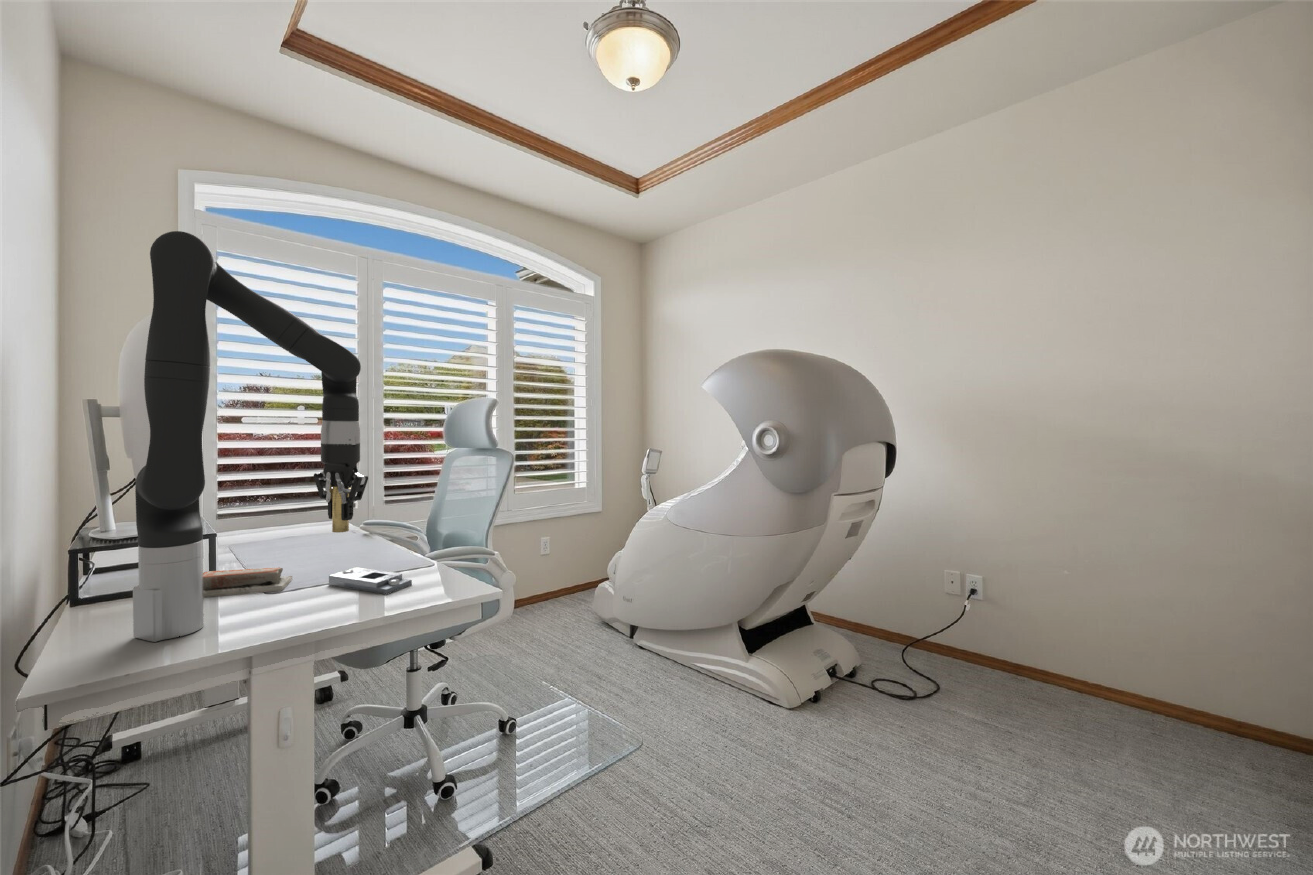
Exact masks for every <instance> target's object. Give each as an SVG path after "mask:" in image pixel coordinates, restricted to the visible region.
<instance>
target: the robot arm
mask: <svg viewBox="0 0 1313 875" xmlns="http://www.w3.org/2000/svg"><path fill="white" fill-rule="evenodd" d="M214 255H215V254H214V253H213V251H212V250H211V248H210V247H209V246H208V244H206V243H205V242H204V241H203V240H202V239H200V238H199V237H198V236H196V235H194V234H192V233H189V232H186V231H180V230H176V231H175V230H174V231H168V232H165V233H163V234H161V235H160V236H158V237H157V238H156V239H154V241H153V242H152V244H151V247H150V251H149V257H150V258H149V259H150V266H151V274H152V275H151V276H152V290H153V292H152V294H153V298H152V299H153V302H152V303H153V304H152V305H153V306H152V312H151V318H150V324H149V327H148V334H147V335H148V336H147V341H146V352H145V359H144V360H145V362H144V375H143V376H144V377H143V379H144V380H143V381H144V383H143V386H144V399H145V407H146V413H147V417H148V423H149V444H148V452H147V458H146V462H145V465H144V466H143V467H142V468H141V469H140V470H139V472H138V474H136V475H137V476H136V478H135V485H134V486H135V491H134V492H135V493H134V494H135V520H136V522H135V523H136V526H135V527H136V532H137V545H138V546H137V547H138V548H137V549H138V550H137V554H138V555H137V556H138V557H137V558H138V559H137V560H138V562H137V563H138V585H134V586H133V587H132V617H133V618H132V619H133V621H132V623H133V624H132V627H133V629H132V631H133V632H132V633H133V636H132V637H133V638H134V639H135V638H136V639H140V640H144V641H148V642H152V643H155V642H158V641H163V640H168V639H174V638H175V639H176V638H179V636H180V637H184V636H187V635H189V634H192V633H195V632H197V631H199V630H201V629H202V628H203V627H204V625H205V622H204V619H205V618H204V615H205V614H204V597H203V573H204V538H203V537H204V530H203V528H204V527H203V523H202V518H201V513H200V511H201V510H200V496H201V495H202V494H203V491H204V489H205V486H206V476H205V467H204V456H203V455H204V453H203V452H204V451H203V432H204V425H205V424H204V423H205V418H206V412H207V407H208V406H207V405H208V398H209V396H208V395H209V388H210V375H211V349H210V339H209V332H208V324H207V315H206V312H207V311H206V309H207V308H206V306H207V301H208V302H211V303H212V304H214V305H216V306H218V307H219V308H221V309H223V310H224V311H226V312H228V313H229V314H231V315H233V316H235V317H236V318H237V319H239V320H241V321H242V322H244V324H246V325H248V326H249V327H251V328H252V329H253V330H255V331H257V332H258V333H259V334H261V335H262V336H263V337H265V338H267V339H268V340H269V341H271V342H273V343H274V344H275V345H277V346H278V347H280V348H282V349H283V350H284V351H286V352H288V353H289V354H291V355H293V356H294V357H297V358H298V359H302V360H304V361H306V362H307V363H309V364H310V365H311V366H313V367H314V368H316V369H317V370H319V371H320V372H321V386H322V395H323V396H322V409H321V420H322V421H321V428H320V462H321V463H322V464H324V468H323V469H322V471H321V472H315V473H314V474H313V479H314V482H315V485H316V489H317V491H318V495H319V497H320V499H322V500H323V499H324V500H325V501H326V502H327V517H328V519H330V520H332V486H336V487H338V491H339V493H340V494H341V498H342V503H343V504H341V519H342V520H343V521H347V520H349V521H351V520H353V516H354V503H355V502H358V501H361V500H362V499H363V498H362V497H363V495H364V493H365V489H366V487H367V484H368V481H369V476H368V475H363V474H360V473H359V469H358V467H357V466H358V463H360V462H361V428H360V427H361V426H360V403H359V399H358V397H357V387H358V386H357V385H358V384H357V383H358V382H357V381H358V380H357V379H358V376H359V375H360V372H361V369H362V368H361V367H362V366H361V362H360V360H359V358H358V357H357V355H355V354H354V353H353V352H352V351H351V350H349V349H348V348H346V347H344V346H343V345H341V344H339V343H338V342H336V341H334V340H333V339H331V338H329V337H327V336H325V335H323V334H322V333H321V332H319V331H318V330H316V329H315V328H314V327H313V326H311V325H310V324H308V323H307V322H306V321H305V320H303V319H301V318H300V317H298V315H295V314H294V313H292V312H291V311H289V310H287V308H284V307H282V305H279V304H277V303H275V302H273V301H272V300H270V299H268V298H267V297H264V296H263V295H261V294H259V293H257V292H255V291H254V290H253V289H251V288H249V287H247V286H246V285H244V284H243V283H242V282H241V281H239V280H238V279H237V278H235V277H234V276H233V275H232V274H230V273H229V272H228V271H227V270H226V269H225V268H223V266H222V265H220V263H218V262H217V261H216V259H215V256H214ZM346 487H349V489H345V488H346ZM347 492H348V493H349V497H347Z"/></svg>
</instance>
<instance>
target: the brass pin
mask: <svg viewBox="0 0 1313 875" xmlns="http://www.w3.org/2000/svg"><path fill="white" fill-rule="evenodd" d="M345 489H349V487H346V488H345ZM347 497H349V493H348V492H347ZM341 504H343V503H342V498H341V494H340V493H339V491H338V487H336V486H332V519H331V524H332V525H331V529H332V530H331V531H332V533H346V532H349V531H350V520H347V521H343V520H342V519H341Z"/></svg>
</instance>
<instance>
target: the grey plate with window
mask: <svg viewBox="0 0 1313 875" xmlns="http://www.w3.org/2000/svg"><path fill="white" fill-rule="evenodd" d="M328 585H329V586H332V587H339V588H345V589H351V590H357V591H362V592H363V591H364V592H369V593H375V592H377V594H381V593H382V595H383V594H384V595H388V593H389V594H390V592H391V593H393V592H396V591H400V590H402V589H404V588H407V587H409V585H410V586H412V585H413V582H412V579H408V578H403V573H400V572H392V571H386V570H384V571H383V570H378V569H370V568H365V567H364V568H363V567H357V566H356V567H353V568H349V569H347V570H343V571H340V572H336V573H333V574H329V575H328Z"/></svg>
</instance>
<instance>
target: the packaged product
mask: <svg viewBox="0 0 1313 875" xmlns="http://www.w3.org/2000/svg"><path fill="white" fill-rule="evenodd" d="M283 570H284V569H283V568H282V567H263V568H262V567H261V568H243V569H227V570H224V569H223V570H211V571H210V570H209V571H203V598H205V597H220V596H233V595H234V596H235V595H245V594H246V595H248V594H258V593H269V592H280V591H281V592H282V591H283V590H284V589H285V588H286V587H287V586H288V585H289V584H290V583H291V581H292V580H293V578H294V577H293V575H288V576H282V573H283Z"/></svg>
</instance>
